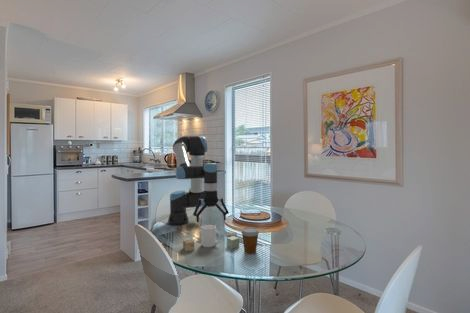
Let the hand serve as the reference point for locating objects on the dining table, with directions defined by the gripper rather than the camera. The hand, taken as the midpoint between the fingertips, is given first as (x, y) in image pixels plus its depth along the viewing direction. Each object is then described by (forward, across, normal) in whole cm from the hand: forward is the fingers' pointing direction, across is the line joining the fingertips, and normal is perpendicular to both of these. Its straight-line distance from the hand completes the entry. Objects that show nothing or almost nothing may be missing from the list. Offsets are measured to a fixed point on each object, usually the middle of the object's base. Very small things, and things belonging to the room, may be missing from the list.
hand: (211, 226), depth 155 cm
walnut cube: (+11, +13, +4) cm, 17 cm away
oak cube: (+11, -13, -2) cm, 17 cm away
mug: (+11, 0, 0) cm, 11 cm away
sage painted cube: (+11, +12, -4) cm, 17 cm away
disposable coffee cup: (+11, +20, -12) cm, 26 cm away
